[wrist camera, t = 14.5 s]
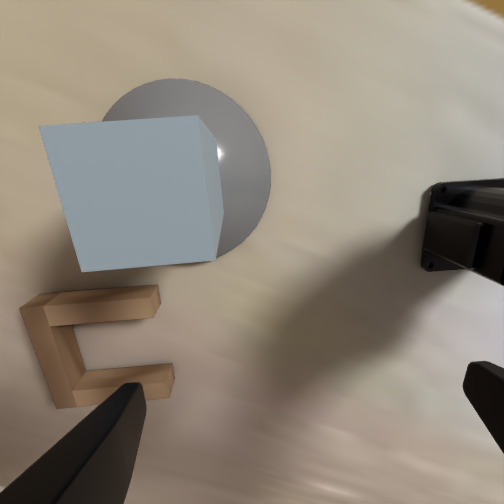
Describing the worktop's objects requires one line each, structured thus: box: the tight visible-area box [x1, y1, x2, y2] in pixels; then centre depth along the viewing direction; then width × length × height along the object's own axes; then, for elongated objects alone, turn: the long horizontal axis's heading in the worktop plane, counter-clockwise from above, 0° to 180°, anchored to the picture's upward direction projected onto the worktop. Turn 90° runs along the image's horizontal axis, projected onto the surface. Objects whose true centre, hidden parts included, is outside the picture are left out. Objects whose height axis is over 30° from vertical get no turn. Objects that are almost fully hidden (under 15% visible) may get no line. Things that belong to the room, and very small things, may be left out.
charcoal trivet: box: [102, 79, 271, 257], centre depth 17 cm, size 11×11×1 cm
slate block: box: [39, 115, 224, 272], centre depth 13 cm, size 4×4×9 cm
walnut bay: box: [19, 285, 175, 409], centre depth 20 cm, size 8×8×2 cm
